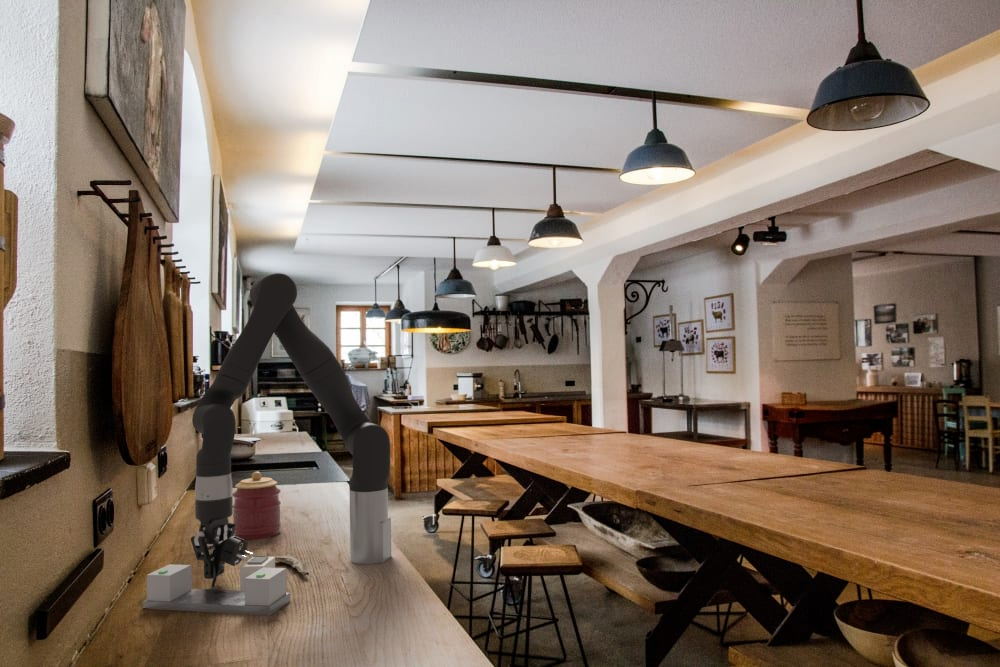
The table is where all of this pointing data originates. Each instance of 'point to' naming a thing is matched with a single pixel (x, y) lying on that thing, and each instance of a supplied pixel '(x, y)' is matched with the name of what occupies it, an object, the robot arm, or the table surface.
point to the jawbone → (291, 562)
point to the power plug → (230, 554)
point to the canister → (256, 508)
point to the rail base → (216, 603)
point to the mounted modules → (177, 581)
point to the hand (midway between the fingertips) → (214, 575)
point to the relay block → (254, 567)
